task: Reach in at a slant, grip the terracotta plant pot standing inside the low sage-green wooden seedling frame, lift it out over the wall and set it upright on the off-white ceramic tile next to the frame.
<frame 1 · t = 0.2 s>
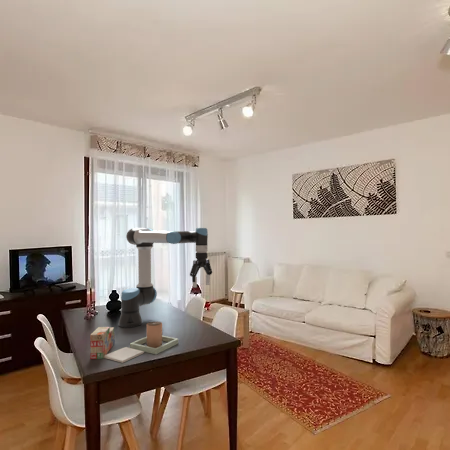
hand: (201, 286, 206), 28 cm above the table, tool pointing down, fingers open, 13 cm apart
seedling frame: (154, 345, 179), on the table
ceramic tile: (124, 355, 165), on the table
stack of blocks: (103, 351, 172), on the table
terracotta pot: (154, 334, 179), in the seedling frame
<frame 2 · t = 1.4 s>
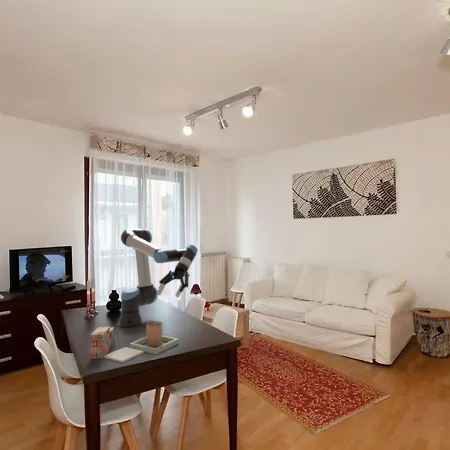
hand: (167, 295, 189), 26 cm above the table, tool tilted 45°, fingers open, 13 cm apart
nothing on the table moved.
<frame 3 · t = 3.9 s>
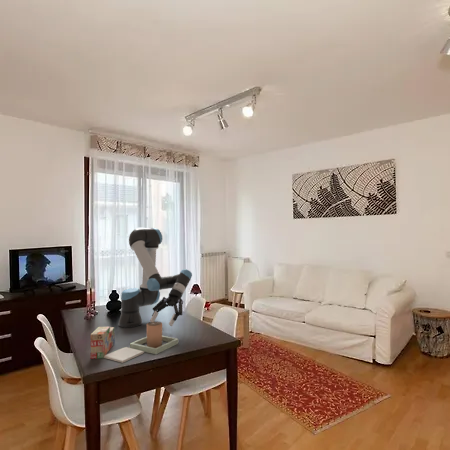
hand: (160, 323, 183), 11 cm above the table, tool tilted 45°, fingers open, 13 cm apart
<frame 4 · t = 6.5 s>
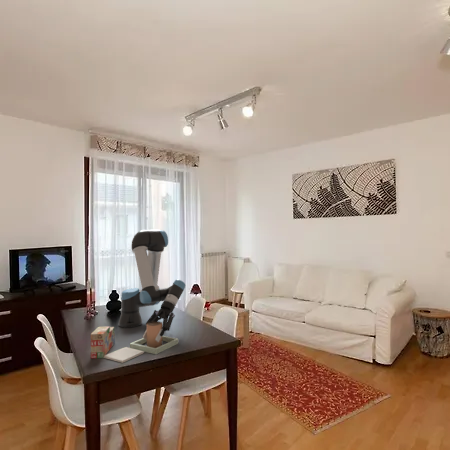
hand: (150, 339, 176), 4 cm above the table, tool tilted 45°, fingers closed on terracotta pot, 8 cm apart
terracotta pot: (154, 334, 179), in the seedling frame, touching gripper
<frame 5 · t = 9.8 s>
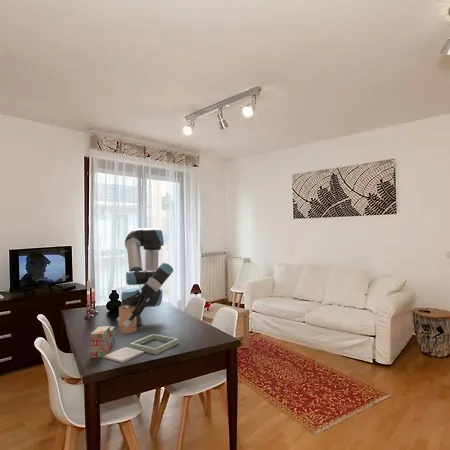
hand: (121, 323, 165), 16 cm above the table, tool tilted 45°, fingers closed on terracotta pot, 8 cm apart
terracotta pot: (127, 318, 167), point 18 cm above the table, touching gripper
when the fingers open (6 cm above the table, at t = 13.3 s): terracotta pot stays where it is, resting on ceramic tile.
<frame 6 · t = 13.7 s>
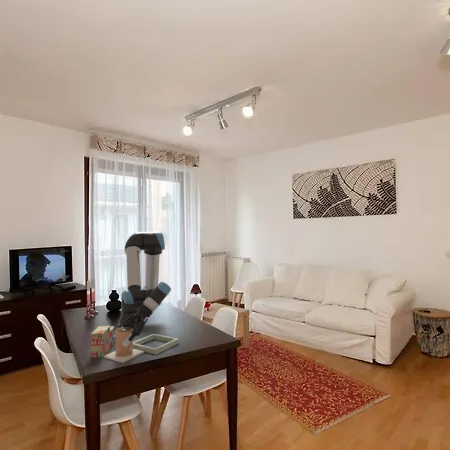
hand: (119, 342, 164), 7 cm above the table, tool tilted 45°, fingers open, 13 cm apart
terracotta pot: (124, 341, 165), on the ceramic tile, point 7 cm above the table
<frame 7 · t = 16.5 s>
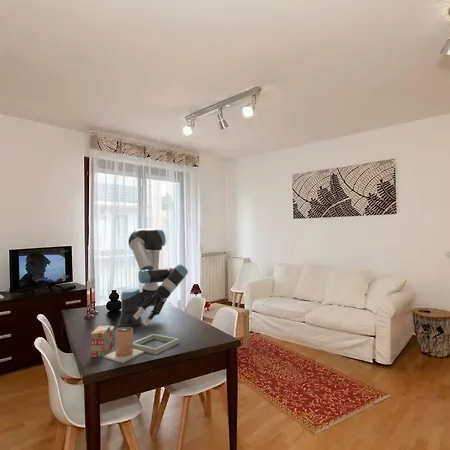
hand: (139, 321, 170), 16 cm above the table, tool tilted 45°, fingers open, 13 cm apart
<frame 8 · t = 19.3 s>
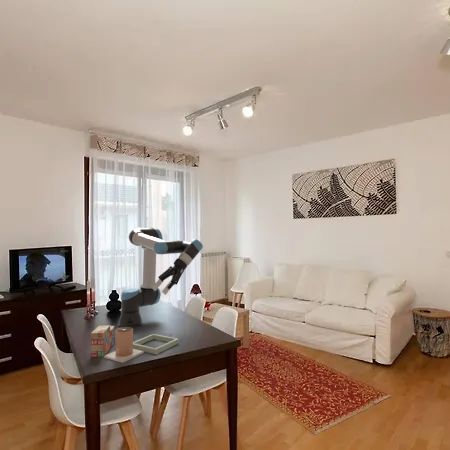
hand: (158, 291, 179), 30 cm above the table, tool tilted 45°, fingers open, 13 cm apart
at the end: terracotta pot inside the target area on the ceramic tile (0.1 cm from its centre), point 7.1 cm above the ceramic tile's base; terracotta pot tilted 0°; the gripper is holding nothing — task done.
